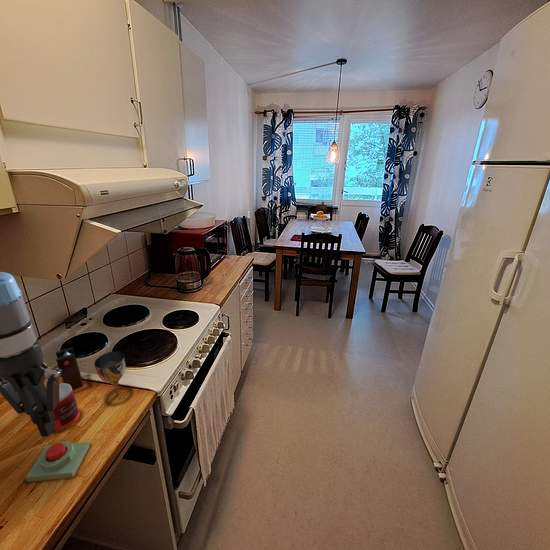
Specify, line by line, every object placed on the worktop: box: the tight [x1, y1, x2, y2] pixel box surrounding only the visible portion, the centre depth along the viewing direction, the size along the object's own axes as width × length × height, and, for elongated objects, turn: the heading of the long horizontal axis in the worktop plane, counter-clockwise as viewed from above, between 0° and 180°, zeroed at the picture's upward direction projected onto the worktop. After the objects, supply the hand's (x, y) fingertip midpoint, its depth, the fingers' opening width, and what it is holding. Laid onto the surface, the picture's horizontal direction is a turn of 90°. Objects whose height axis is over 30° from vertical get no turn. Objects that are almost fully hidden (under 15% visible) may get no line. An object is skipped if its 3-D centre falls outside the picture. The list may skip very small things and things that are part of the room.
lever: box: [44, 352, 70, 379], centre depth 89 cm, size 13×4×4 cm
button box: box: [25, 440, 90, 483], centre depth 70 cm, size 10×8×4 cm
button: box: [46, 442, 66, 462], centre depth 69 cm, size 4×4×2 cm
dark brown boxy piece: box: [55, 347, 84, 391], centre depth 92 cm, size 8×7×14 cm
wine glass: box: [93, 350, 127, 396], centre depth 88 cm, size 8×8×15 cm
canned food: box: [52, 382, 81, 432], centre depth 80 cm, size 8×8×11 cm
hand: (48, 431), depth 66 cm, fingers closed
